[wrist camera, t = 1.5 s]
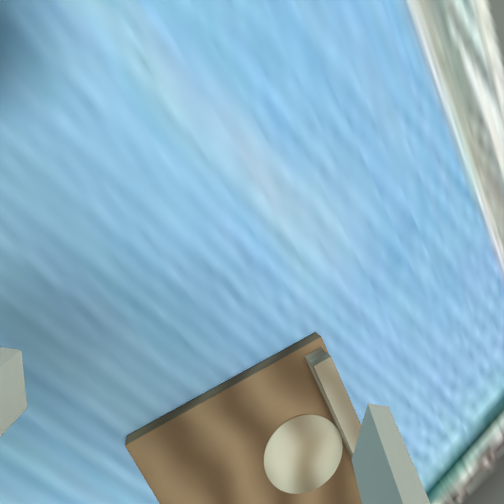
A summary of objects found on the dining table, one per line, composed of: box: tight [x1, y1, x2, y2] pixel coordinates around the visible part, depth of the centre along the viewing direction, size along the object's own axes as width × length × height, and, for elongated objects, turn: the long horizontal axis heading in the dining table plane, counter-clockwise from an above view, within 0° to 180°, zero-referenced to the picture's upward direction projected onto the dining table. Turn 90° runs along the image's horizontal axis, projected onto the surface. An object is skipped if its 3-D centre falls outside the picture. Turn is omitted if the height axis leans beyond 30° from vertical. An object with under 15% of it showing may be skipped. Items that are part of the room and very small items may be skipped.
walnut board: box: [125, 332, 362, 504], centre depth 35 cm, size 22×22×4 cm
